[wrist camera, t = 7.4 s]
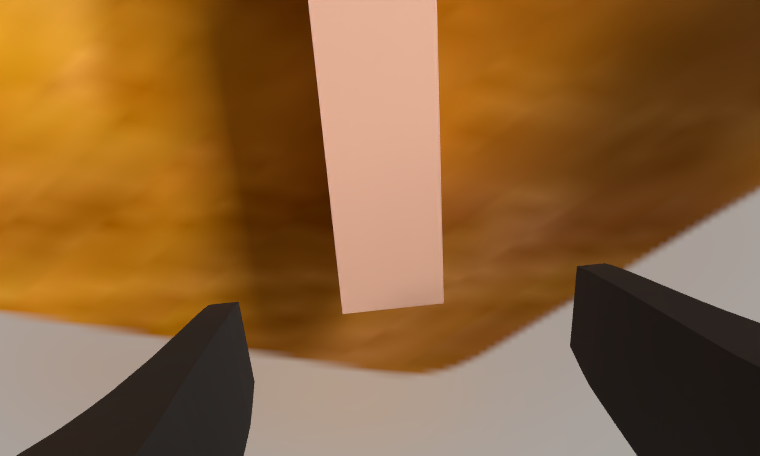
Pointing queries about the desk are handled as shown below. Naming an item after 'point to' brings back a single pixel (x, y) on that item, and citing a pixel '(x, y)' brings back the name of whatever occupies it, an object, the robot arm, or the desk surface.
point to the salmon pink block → (381, 148)
